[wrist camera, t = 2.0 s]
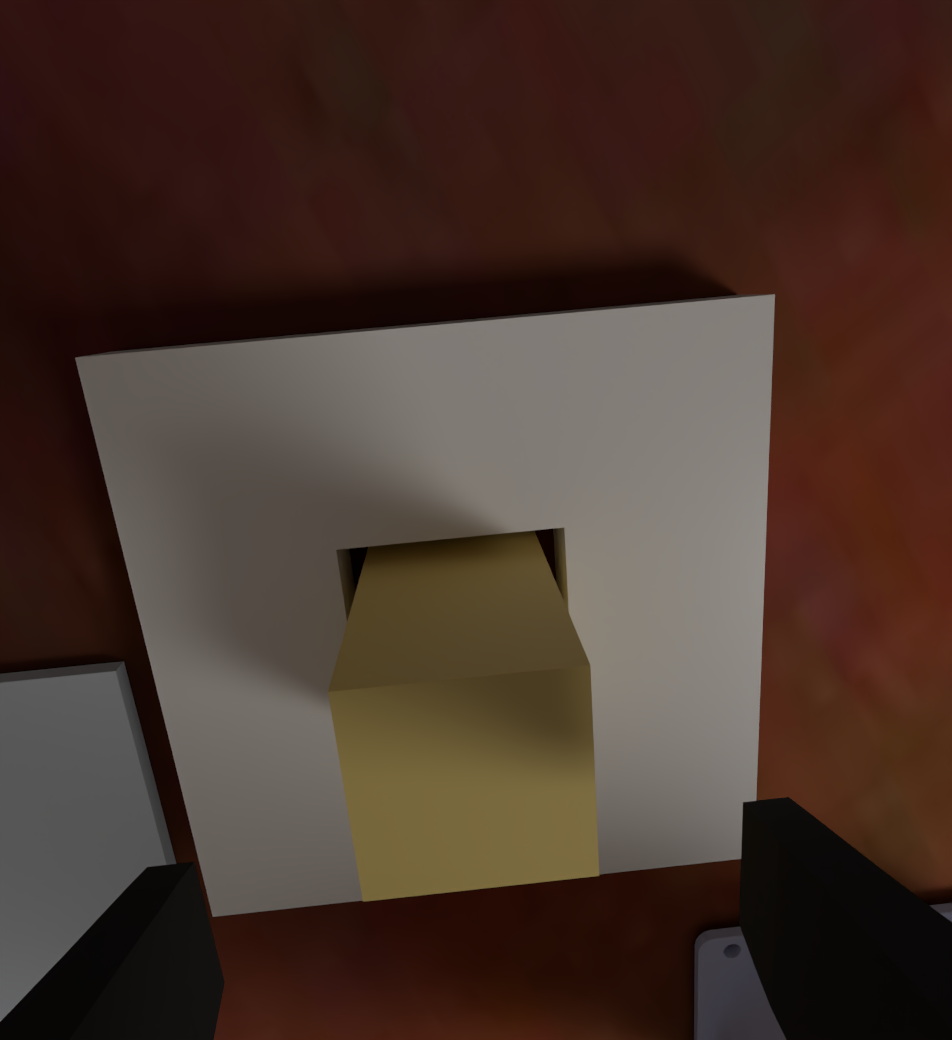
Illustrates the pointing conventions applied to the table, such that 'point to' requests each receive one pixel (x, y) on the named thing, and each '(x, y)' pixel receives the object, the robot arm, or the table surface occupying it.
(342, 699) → the block
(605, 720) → the pocket holder
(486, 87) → the table surface
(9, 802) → the mat
